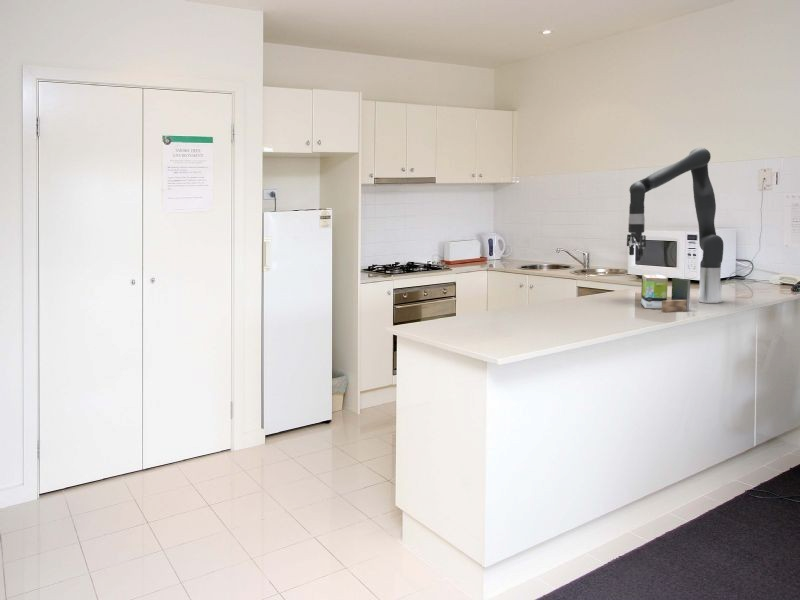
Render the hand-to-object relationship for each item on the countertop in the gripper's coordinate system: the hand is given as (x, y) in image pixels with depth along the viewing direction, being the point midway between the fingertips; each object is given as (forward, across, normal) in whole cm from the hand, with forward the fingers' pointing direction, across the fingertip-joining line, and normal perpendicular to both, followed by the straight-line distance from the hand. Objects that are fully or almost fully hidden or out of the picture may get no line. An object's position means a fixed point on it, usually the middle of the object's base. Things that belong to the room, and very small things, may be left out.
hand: (635, 255), depth 348 cm
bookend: (+23, -29, -7) cm, 38 cm away
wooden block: (+23, -34, -1) cm, 42 cm away
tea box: (+23, -18, 0) cm, 29 cm away
